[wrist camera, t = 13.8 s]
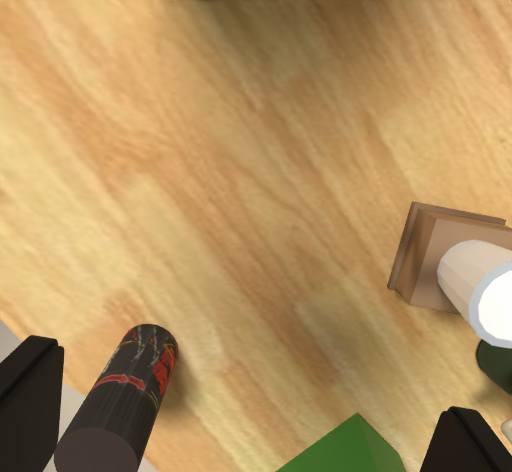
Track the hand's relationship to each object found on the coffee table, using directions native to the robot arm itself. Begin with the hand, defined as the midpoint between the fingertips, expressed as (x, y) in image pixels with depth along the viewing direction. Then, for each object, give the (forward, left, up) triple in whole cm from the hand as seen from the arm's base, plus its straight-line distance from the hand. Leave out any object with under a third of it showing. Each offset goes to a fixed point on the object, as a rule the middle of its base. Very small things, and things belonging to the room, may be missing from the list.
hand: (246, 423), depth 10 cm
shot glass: (+2, +19, -26) cm, 32 cm away
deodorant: (+18, -8, -31) cm, 36 cm away
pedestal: (+2, +19, -30) cm, 36 cm away
